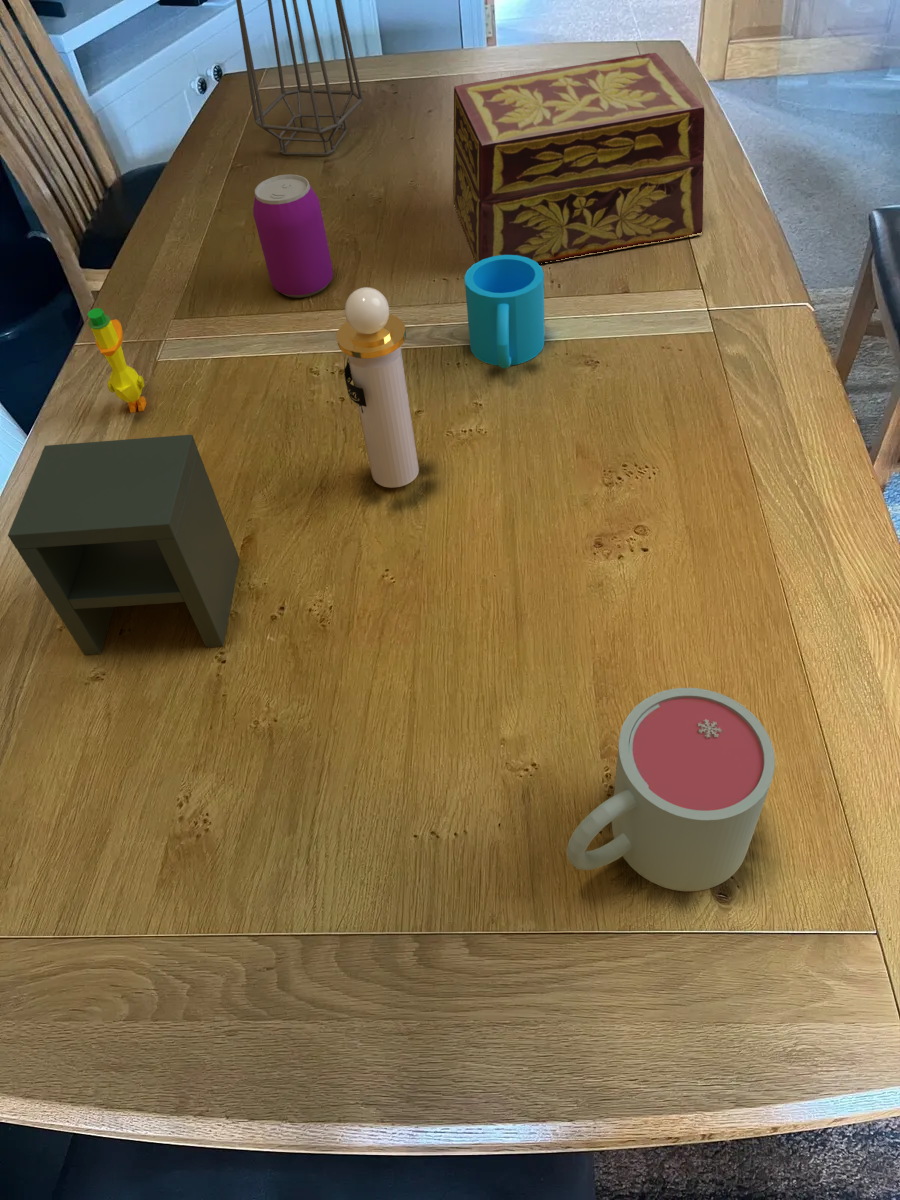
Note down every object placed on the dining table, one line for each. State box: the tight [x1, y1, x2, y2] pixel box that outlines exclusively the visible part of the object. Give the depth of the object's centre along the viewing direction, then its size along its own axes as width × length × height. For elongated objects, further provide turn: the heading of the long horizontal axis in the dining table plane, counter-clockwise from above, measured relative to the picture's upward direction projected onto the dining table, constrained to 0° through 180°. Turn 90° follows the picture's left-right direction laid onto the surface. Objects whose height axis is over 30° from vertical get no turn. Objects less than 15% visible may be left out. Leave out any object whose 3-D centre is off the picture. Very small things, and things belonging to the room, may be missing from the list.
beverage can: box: [252, 174, 334, 299], centre depth 110 cm, size 8×8×12 cm
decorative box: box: [452, 52, 705, 265], centre depth 113 cm, size 28×19×15 cm
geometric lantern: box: [235, 0, 364, 156], centre depth 126 cm, size 16×16×35 cm
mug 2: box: [566, 687, 776, 892], centre depth 60 cm, size 14×9×10 cm
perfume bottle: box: [336, 286, 420, 489], centre depth 82 cm, size 6×6×20 cm
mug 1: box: [464, 255, 546, 369], centre depth 98 cm, size 12×8×8 cm
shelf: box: [7, 434, 240, 656], centre depth 76 cm, size 12×10×14 cm
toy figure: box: [87, 307, 148, 414], centre depth 96 cm, size 7×4×12 cm, turn 8°
